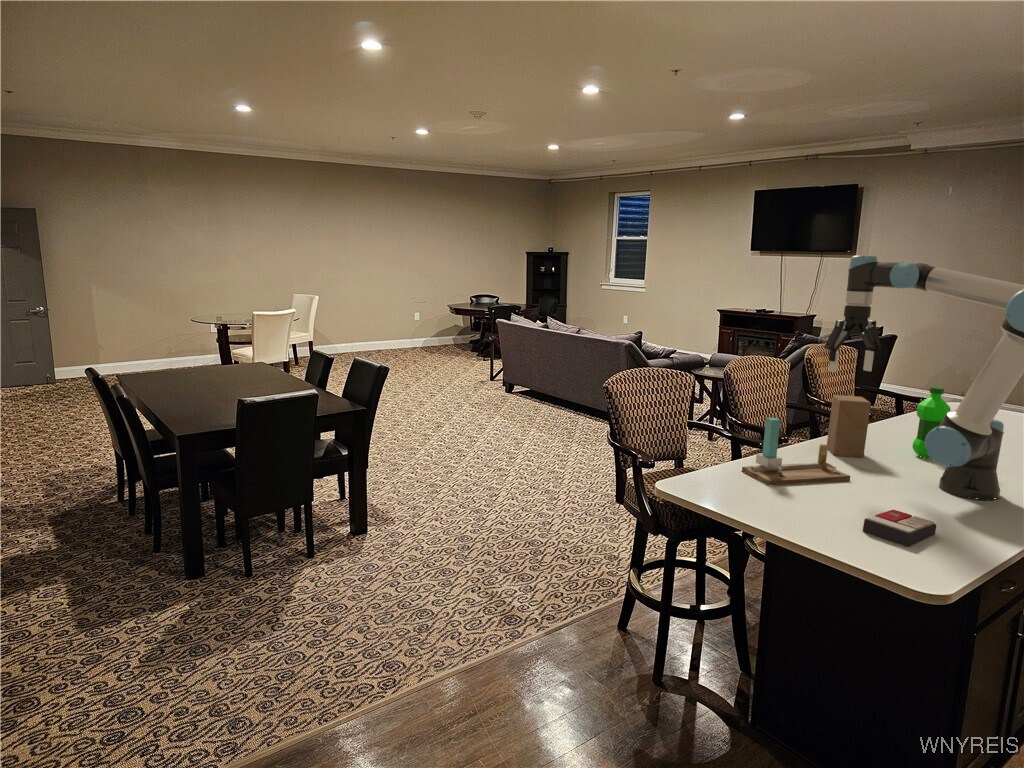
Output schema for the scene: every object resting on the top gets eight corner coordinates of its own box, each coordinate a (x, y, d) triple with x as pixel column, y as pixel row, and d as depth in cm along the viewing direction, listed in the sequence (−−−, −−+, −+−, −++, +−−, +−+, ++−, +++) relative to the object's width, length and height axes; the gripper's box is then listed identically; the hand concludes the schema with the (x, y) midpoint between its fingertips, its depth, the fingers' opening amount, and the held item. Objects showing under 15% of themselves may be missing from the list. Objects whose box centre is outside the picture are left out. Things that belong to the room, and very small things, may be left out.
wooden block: (863, 458, 232) (871, 402, 229) (833, 455, 234) (840, 400, 231) (855, 450, 242) (862, 396, 238) (825, 448, 244) (832, 394, 240)
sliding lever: (787, 474, 205) (793, 423, 202) (773, 475, 204) (779, 424, 201) (768, 465, 214) (774, 416, 211) (755, 465, 213) (760, 416, 210)
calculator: (937, 521, 167) (910, 531, 158) (935, 537, 167) (907, 548, 158) (892, 507, 175) (864, 515, 166) (889, 523, 176) (861, 532, 167)
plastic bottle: (950, 459, 234) (961, 390, 229) (929, 462, 230) (940, 391, 225) (923, 451, 243) (934, 384, 238) (903, 454, 239) (913, 385, 234)
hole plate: (849, 480, 207) (853, 453, 205) (769, 485, 200) (772, 457, 198) (818, 466, 220) (821, 441, 219) (741, 471, 213) (744, 445, 211)
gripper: (880, 304, 218) (872, 368, 222) (816, 303, 211) (809, 370, 215) (899, 306, 211) (890, 372, 215) (834, 305, 204) (826, 373, 208)
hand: (850, 371), depth 215 cm, fingers open, 13 cm apart
